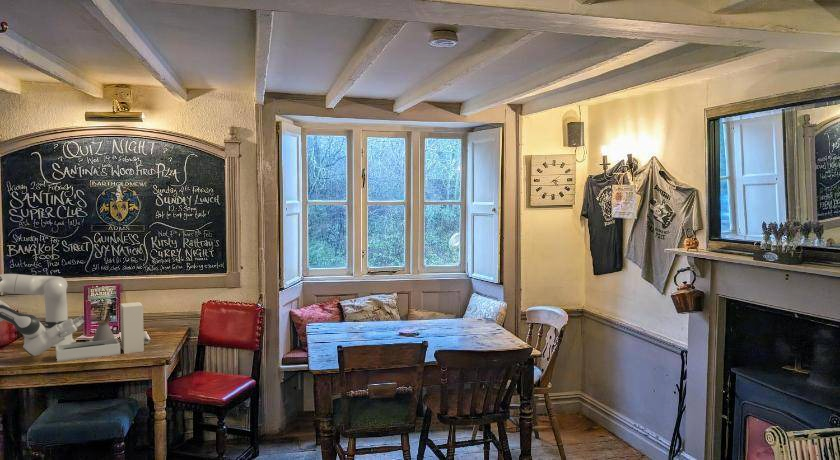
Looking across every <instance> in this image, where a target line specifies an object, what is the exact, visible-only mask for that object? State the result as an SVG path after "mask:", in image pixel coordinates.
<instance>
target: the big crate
mask: <svg viewBox="0 0 840 460" xmlns="http://www.w3.org/2000/svg"><path fill="white" fill-rule="evenodd" d="M97 344H105V345H100V346H91V347H83V348H74V349H65V350H63V348H70V347H79V346H88V345H97ZM110 355H111V356H117V355H118V356H119V355H121V342H120V341H119V340H118V338H114V339H110V340H101V341H84V342H75V343H71V344H65V345H56V347H55V358H56V359H57V360H56V363H62V362H61V361H63V362H69V361H68V360H71V361H77V360H78V359H79V360H86V359H95V358H103V357H109V356H110ZM102 356H103V357H102Z"/></svg>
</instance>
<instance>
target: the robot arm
mask: <svg viewBox="0 0 840 460" xmlns="http://www.w3.org/2000/svg"><path fill="white" fill-rule="evenodd" d="M67 290H68V281H67V280H66V279H65V278H64V277H62V276H55V275H30V274H19V273H1V274H0V293H8V294H14V295H15V294H17V295H26V296H27V295H28V296H29V295H30V296H32V295H34V296H35V295H36V296H37V295H43V296H44V297H43V298H44V300H43V301H44V309H45V310H44V311H45V320H44V324H43V323H41V321H40V320H39V319H38V318H37V317H36V315H32V314H27V313H26V314H25V313H21V312H19V311H16V310H15V309H12V308H11V306H9V305H8V304H7V303H6V302H4V301H3V300H1V299H0V323H1V322H3V321H5V322H7V323H10V324H12V325H13V326H14V327H15V329H16V330H17V332H18V333H20V334H22V335H23V337H24V338H23V339H24V340H23V341H24V342H23V345H22V348H23V350H24V351H25V352H26V353H27V354H28V355H30V356H31V357H36V356H38V355H41V354H43V353H44V352H46V351H48V350H49V349H50V348H51V347H52V348H53V347H55V348H56V345H65V344H74V343H77V341H76V339H74V338H73V333H75V332H77V331H78V327H80V326H81V325H82V324H83V323H85V320H84V319H83V316H82V315H80V316H78V317H76V318H74V319H73V318H69V317H68V316H69V315H68V314H69V313H68V300H67V298H68V297H67Z"/></svg>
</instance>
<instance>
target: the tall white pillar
mask: <svg viewBox="0 0 840 460" xmlns="http://www.w3.org/2000/svg"><path fill="white" fill-rule="evenodd" d="M119 306H120V350H121V351H122V350H123V353H124V354H133V353H141V352H145V348H144V347H145V346H144V345H145V344H144V342H145V340H144V332H145V331H144V330H145V329H144V305H143V304H142V303H141V302H139V301H136V302H125V303H120V305H119Z"/></svg>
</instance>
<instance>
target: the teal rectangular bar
mask: <svg viewBox="0 0 840 460" xmlns="http://www.w3.org/2000/svg"><path fill="white" fill-rule="evenodd" d="M100 345H105V344H97V345H88V346H79V347H70V348H63V350H65V349H74V348H83V347H91V346H100Z"/></svg>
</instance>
